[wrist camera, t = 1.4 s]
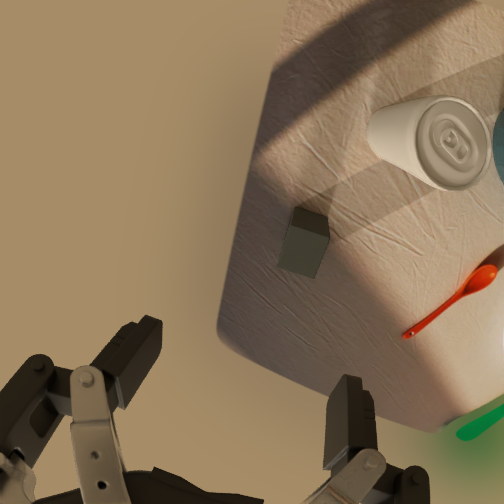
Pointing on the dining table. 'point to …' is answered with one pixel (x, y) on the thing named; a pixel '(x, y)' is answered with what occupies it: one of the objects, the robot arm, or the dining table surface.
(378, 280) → the dining table surface
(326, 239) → the dark gray rectangular block
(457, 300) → the dining table surface
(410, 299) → the dining table surface
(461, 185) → the beverage can
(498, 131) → the teal round container
